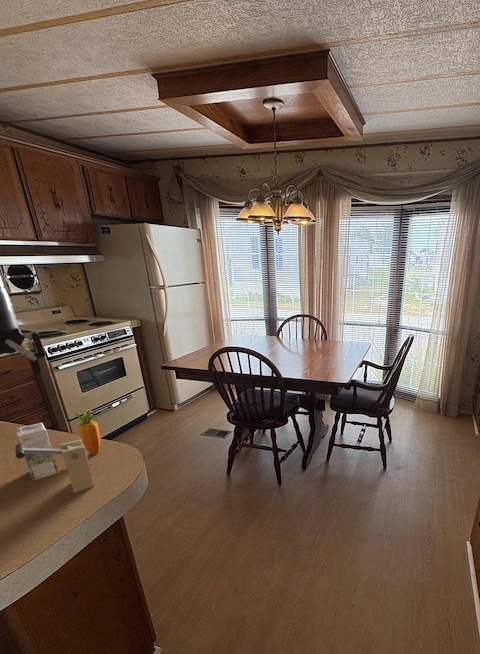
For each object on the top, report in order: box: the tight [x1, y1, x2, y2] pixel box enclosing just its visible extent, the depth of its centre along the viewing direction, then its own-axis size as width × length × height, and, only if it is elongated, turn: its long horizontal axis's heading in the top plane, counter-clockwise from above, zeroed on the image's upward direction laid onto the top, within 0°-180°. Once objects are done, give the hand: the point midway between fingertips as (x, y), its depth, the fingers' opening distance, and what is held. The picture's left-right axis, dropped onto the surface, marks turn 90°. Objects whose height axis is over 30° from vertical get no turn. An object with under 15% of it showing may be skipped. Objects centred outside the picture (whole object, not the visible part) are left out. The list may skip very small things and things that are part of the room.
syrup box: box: [14, 422, 60, 481], centre depth 90 cm, size 6×6×14 cm
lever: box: [14, 443, 79, 459], centre depth 81 cm, size 12×5×2 cm, turn 131°
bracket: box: [59, 438, 95, 493], centre depth 86 cm, size 8×7×13 cm
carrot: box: [74, 410, 101, 456], centre depth 99 cm, size 5×5×15 cm
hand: (13, 377), depth 82 cm, fingers open, 8 cm apart
